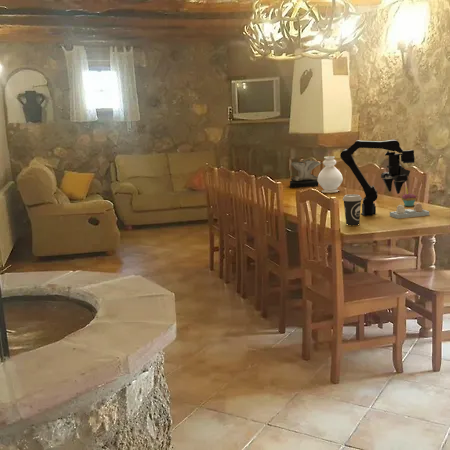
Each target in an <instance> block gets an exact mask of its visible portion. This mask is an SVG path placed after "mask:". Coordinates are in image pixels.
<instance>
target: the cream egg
mask: <svg viewBox="0 0 450 450" xmlns="http://www.w3.org/2000/svg"><path fill="white" fill-rule="evenodd" d="M405 209H406V208H405V205H403V204H398V205H397V207H396V210H395V212H396V214H405Z"/></svg>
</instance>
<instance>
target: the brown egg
mask: <svg viewBox="0 0 450 450" xmlns="http://www.w3.org/2000/svg"><path fill="white" fill-rule="evenodd" d="M413 206H414V207H413V210H414V211H416V212H423V210H424V209H423V205H422V204H421V202H417V203H414V205H413Z"/></svg>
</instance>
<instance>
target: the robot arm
mask: <svg viewBox="0 0 450 450" xmlns="http://www.w3.org/2000/svg"><path fill="white" fill-rule="evenodd" d="M359 149H378V150H379V149H381V150H385V151H386V152H385V153H384V157H385V156H387V157H388V165H386V168H387V169H388V172H382V173H381V174H380V179H382V181H383V183H384V184H385V187H386V188H387V190H388V191H387V192H389V193H391V192H392V189H393V188H392V186H393V184H394V188H395V191H396V194H401V193H400V192H401V190H402V187H403V185H404V184H405V183H406V182H407V181H408V179H409V176H410V173H411V170H409V169H405V167H403V166H402V164H401V162H402V163H403V164H415V159H416V158H415V157H416V156H415V149H410V150H403V148H402V147H401V145H400V142H399V141H398V140H397V139H389V140H382V141H381V140H379V141H378V140H376V141H375V140H373V141H372V140H358V139H357V140H356V141H355V142H354V143H353V144H352V145H350V147H348V148H347V149H344V150H342V151H341V152H340V155H339V157H340V159H341V160H342V161H343V162H344V164H345V165H346V166H348V168H349V169H350V171H351V173H353V175H354V176H355V178H356V179H357V181H358V182H359V185H360V187H362V189H363V193H364V195H365V196H364V197H363V198H362V203H361V212H360V215H362V216H365V217H366V216H367V217H368V216H374V215H376V214H377V209H376V208H377V206H376V204H375V203H374V202H375V201H377V199H378V197H379V196H378V189H376V187H375V185H370V183H369V182H368V180H367V179H366V178H365V176H364V174H363V173H362V170H361V169H360V168H359V166H358V165H357V164H356V161H355V158H354V155H353V154H354V153H355V152H356V151H358V150H359ZM396 152H397V153H396Z"/></svg>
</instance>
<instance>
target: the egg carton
mask: <svg viewBox="0 0 450 450" xmlns="http://www.w3.org/2000/svg"><path fill="white" fill-rule="evenodd" d="M404 209H405V214H396V211H391V212H390V211H389V217H391V218H394V219H406V218H407V219H408V218H417V217H425V216H430V211H429V210H427V209H423V212H416V211H414V209H410V208H407V209H406V208H404Z"/></svg>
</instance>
